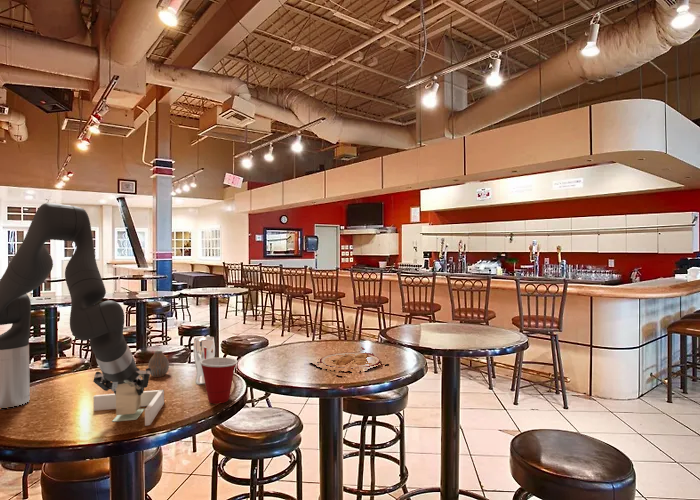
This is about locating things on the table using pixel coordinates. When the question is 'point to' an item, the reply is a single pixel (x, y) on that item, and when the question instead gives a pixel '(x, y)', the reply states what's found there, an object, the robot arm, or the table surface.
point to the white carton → (202, 354)
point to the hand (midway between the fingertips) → (130, 392)
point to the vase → (158, 364)
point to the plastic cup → (218, 378)
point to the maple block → (127, 399)
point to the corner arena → (148, 398)
